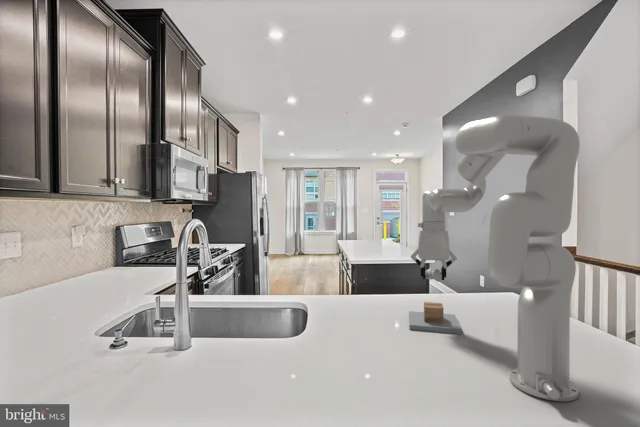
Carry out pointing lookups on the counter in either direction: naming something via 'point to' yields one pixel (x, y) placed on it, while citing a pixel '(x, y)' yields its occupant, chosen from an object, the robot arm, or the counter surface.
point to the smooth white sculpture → (433, 274)
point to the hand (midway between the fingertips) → (433, 278)
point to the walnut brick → (433, 312)
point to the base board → (447, 326)
